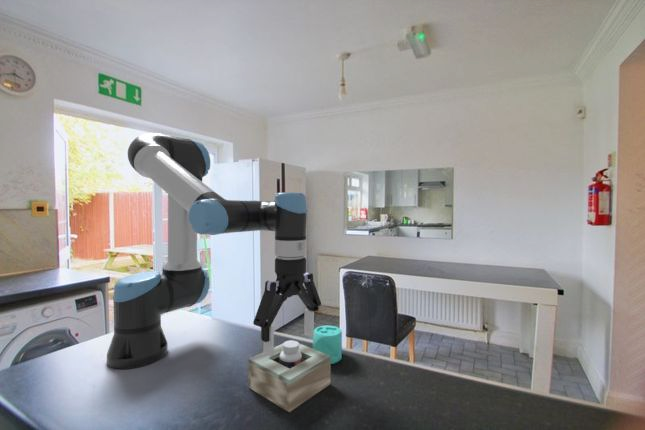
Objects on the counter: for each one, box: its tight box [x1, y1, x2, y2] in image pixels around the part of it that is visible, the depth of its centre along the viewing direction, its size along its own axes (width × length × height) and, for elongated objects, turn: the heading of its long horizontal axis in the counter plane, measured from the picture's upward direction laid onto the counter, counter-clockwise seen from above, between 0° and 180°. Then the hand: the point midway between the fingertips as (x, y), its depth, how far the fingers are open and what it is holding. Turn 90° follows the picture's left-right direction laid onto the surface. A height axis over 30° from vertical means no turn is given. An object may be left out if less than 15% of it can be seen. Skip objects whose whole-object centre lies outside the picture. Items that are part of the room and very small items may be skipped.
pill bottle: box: [280, 340, 302, 369], centre depth 76 cm, size 5×5×10 cm
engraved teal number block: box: [312, 324, 343, 365], centre depth 90 cm, size 8×8×8 cm
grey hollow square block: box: [248, 339, 332, 413], centre depth 76 cm, size 14×14×7 cm
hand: (290, 344), depth 76 cm, fingers open, 13 cm apart
